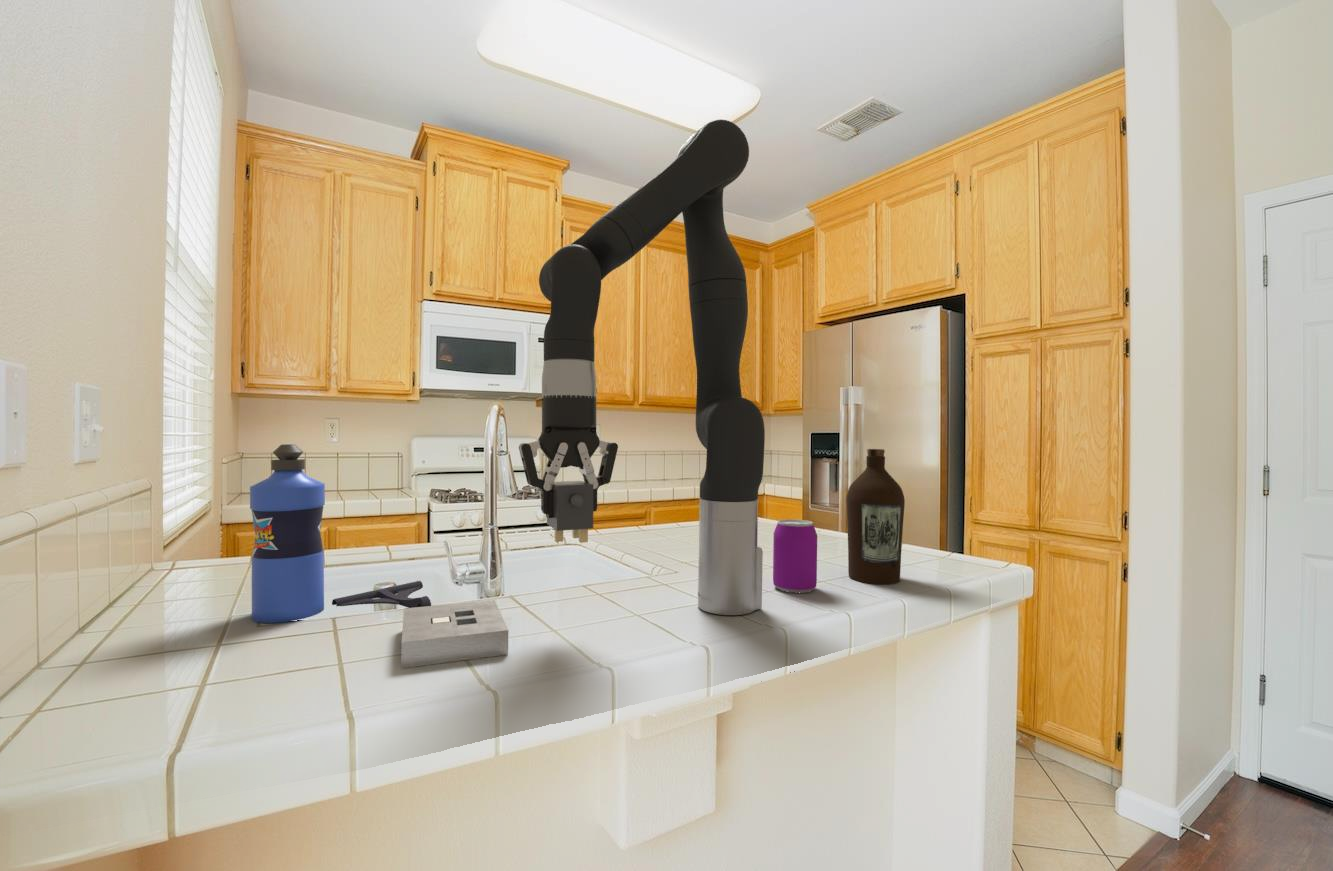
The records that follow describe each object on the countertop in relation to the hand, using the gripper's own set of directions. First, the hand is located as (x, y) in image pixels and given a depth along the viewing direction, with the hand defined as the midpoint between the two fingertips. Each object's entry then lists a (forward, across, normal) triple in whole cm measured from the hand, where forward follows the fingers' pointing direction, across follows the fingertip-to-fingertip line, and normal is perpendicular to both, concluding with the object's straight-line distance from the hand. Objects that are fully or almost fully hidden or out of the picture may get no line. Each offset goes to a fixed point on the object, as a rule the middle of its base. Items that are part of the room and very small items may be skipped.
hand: (569, 515), depth 83 cm
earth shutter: (+13, +17, 0) cm, 21 cm away
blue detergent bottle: (+15, +37, -21) cm, 45 cm away
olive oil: (+17, -62, -8) cm, 64 cm away
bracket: (+16, +22, -21) cm, 35 cm away
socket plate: (+16, +15, 0) cm, 22 cm away
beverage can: (+17, -43, -7) cm, 46 cm away
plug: (+3, 0, 0) cm, 3 cm away
